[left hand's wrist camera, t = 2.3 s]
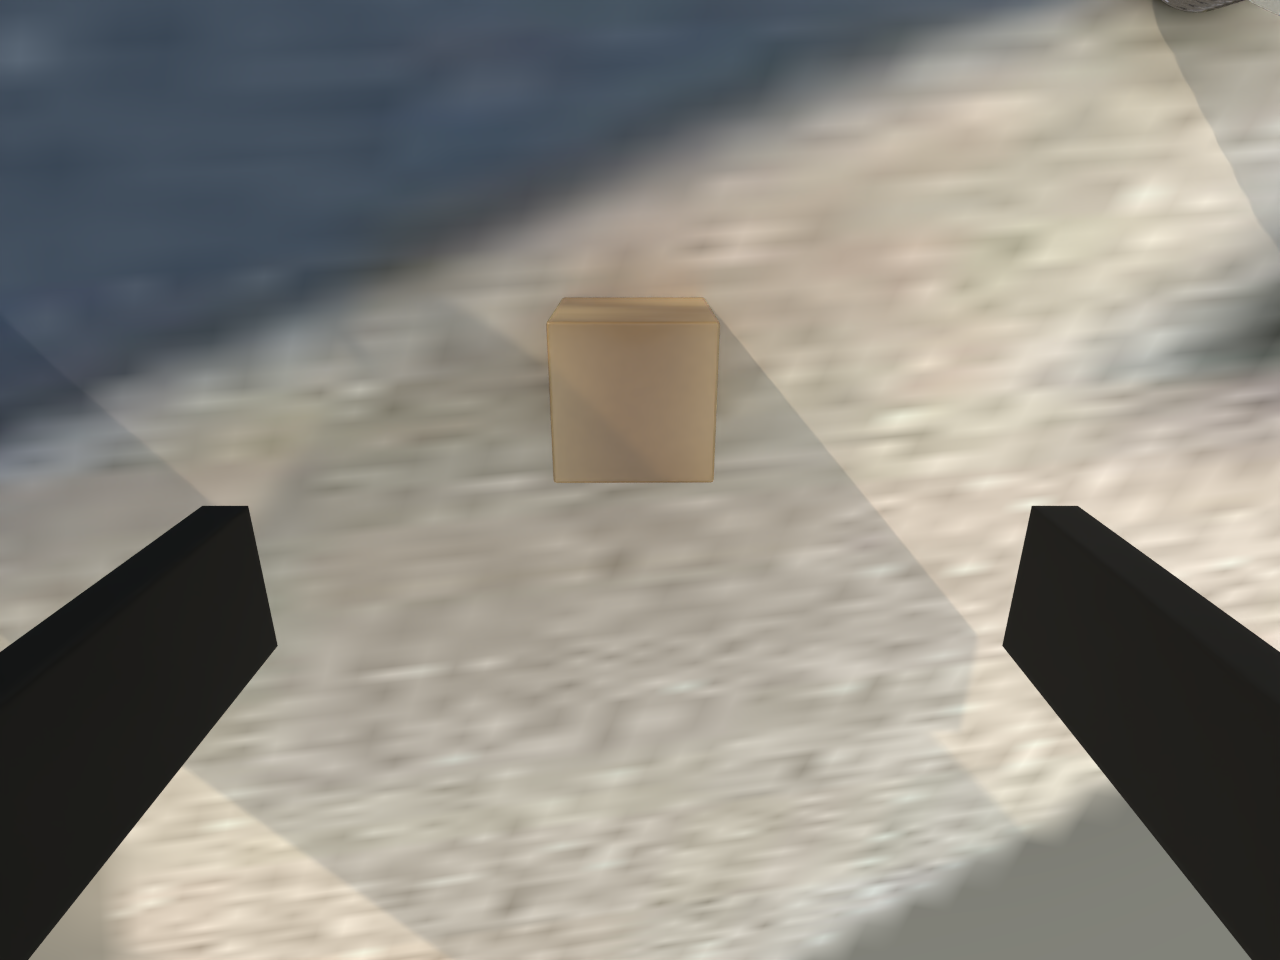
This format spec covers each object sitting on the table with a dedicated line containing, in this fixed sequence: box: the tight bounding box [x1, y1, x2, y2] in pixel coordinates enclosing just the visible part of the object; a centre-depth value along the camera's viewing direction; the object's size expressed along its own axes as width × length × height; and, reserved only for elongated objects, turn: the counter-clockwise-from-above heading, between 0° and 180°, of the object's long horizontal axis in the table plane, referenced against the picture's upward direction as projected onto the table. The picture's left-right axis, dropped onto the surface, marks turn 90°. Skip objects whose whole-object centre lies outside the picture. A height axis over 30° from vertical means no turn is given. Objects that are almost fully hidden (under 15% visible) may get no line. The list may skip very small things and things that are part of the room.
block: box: [546, 298, 720, 483], centre depth 24 cm, size 5×5×5 cm
